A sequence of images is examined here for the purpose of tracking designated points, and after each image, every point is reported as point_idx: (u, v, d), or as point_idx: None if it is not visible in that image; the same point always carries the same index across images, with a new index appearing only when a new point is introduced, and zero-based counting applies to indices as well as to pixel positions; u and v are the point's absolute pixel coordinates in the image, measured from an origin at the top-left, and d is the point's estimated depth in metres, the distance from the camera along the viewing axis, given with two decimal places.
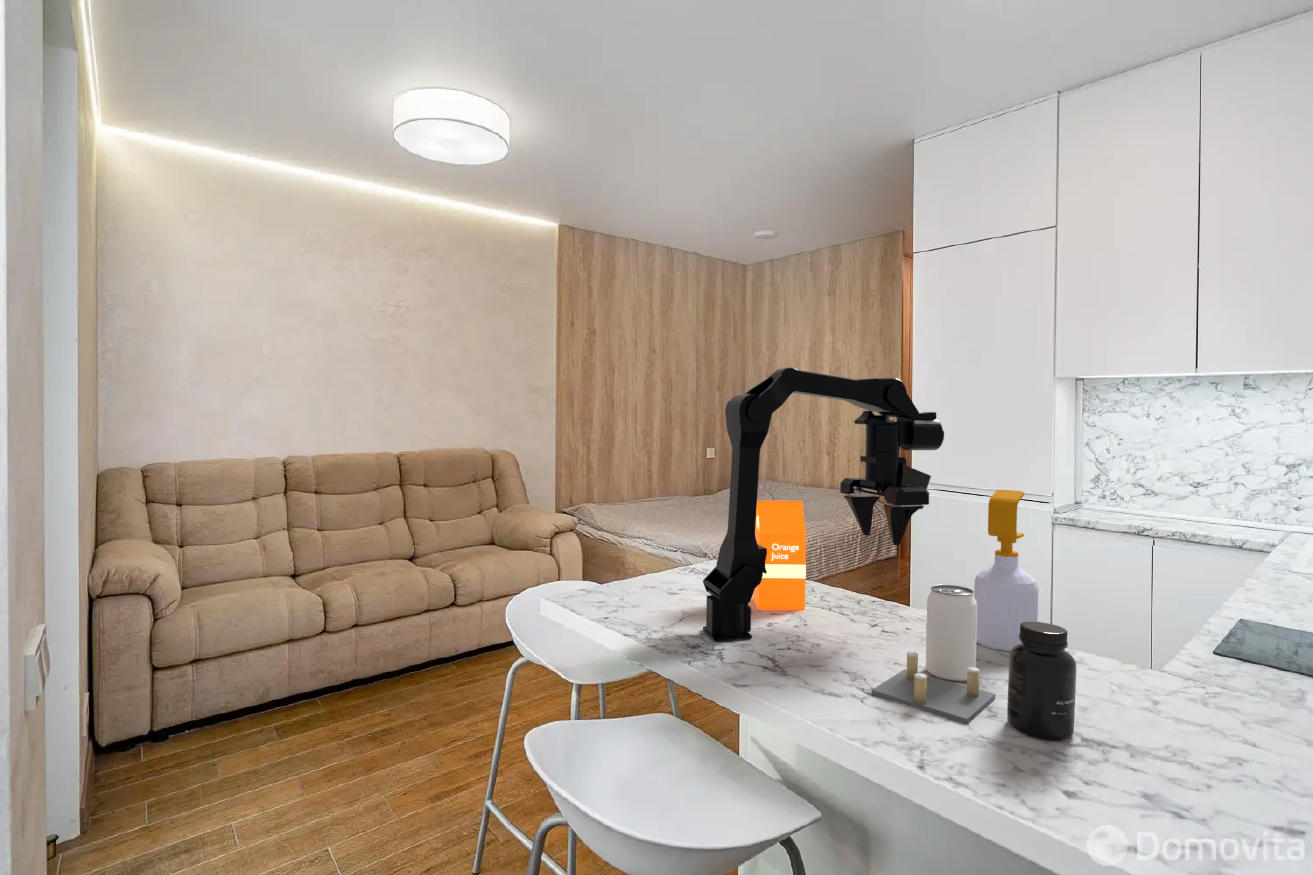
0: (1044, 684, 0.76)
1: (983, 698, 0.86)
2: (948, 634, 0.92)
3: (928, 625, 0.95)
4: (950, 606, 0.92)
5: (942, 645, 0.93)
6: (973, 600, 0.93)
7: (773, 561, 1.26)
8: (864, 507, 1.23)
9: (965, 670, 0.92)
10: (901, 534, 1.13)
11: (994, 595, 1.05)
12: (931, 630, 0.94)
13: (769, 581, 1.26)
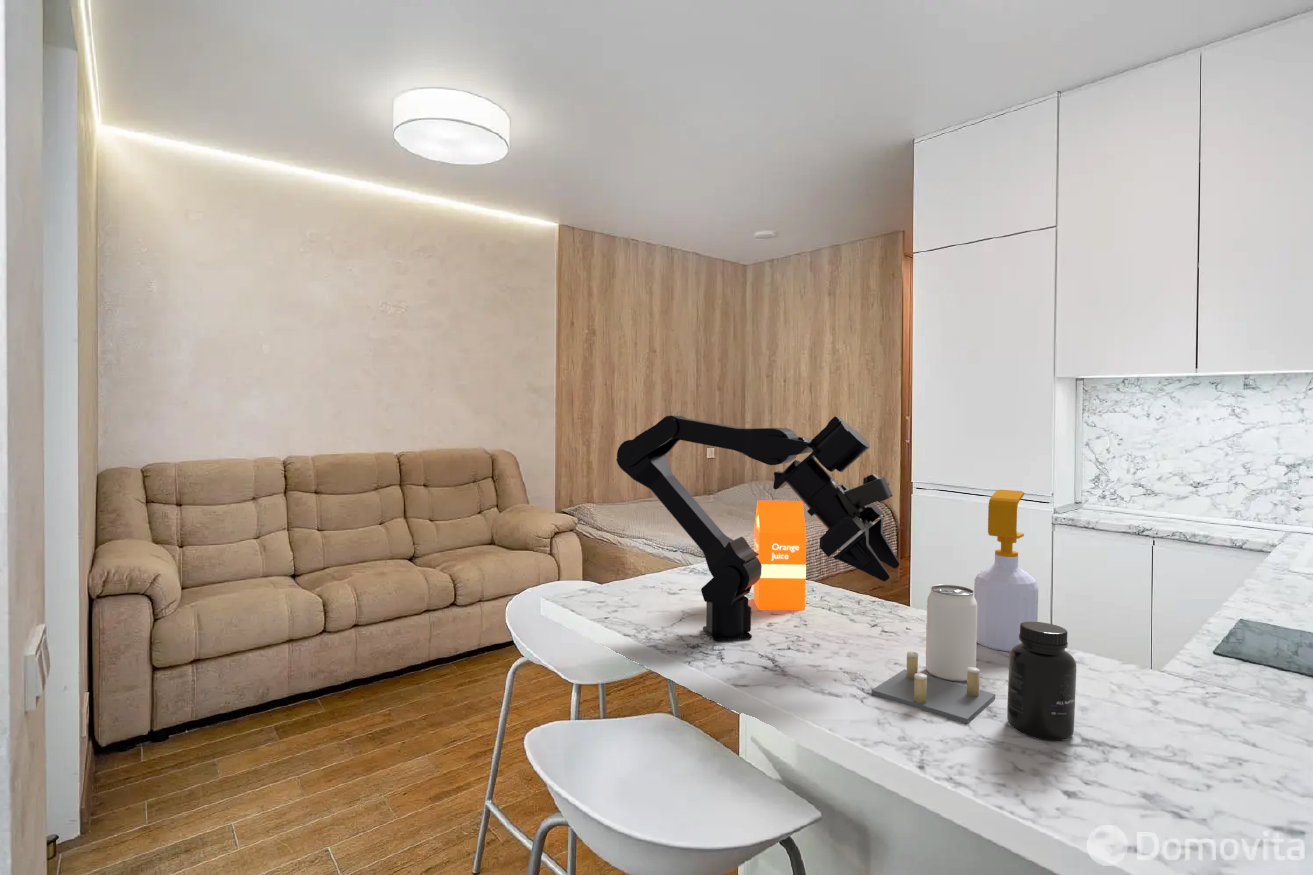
0: (1044, 684, 0.76)
1: (983, 698, 0.86)
2: (948, 634, 0.92)
3: (928, 625, 0.95)
4: (950, 606, 0.92)
5: (942, 645, 0.93)
6: (973, 600, 0.93)
7: (773, 561, 1.26)
8: (872, 542, 1.05)
9: (965, 670, 0.92)
10: (879, 568, 0.95)
11: (994, 595, 1.05)
12: (931, 630, 0.94)
13: (769, 581, 1.26)
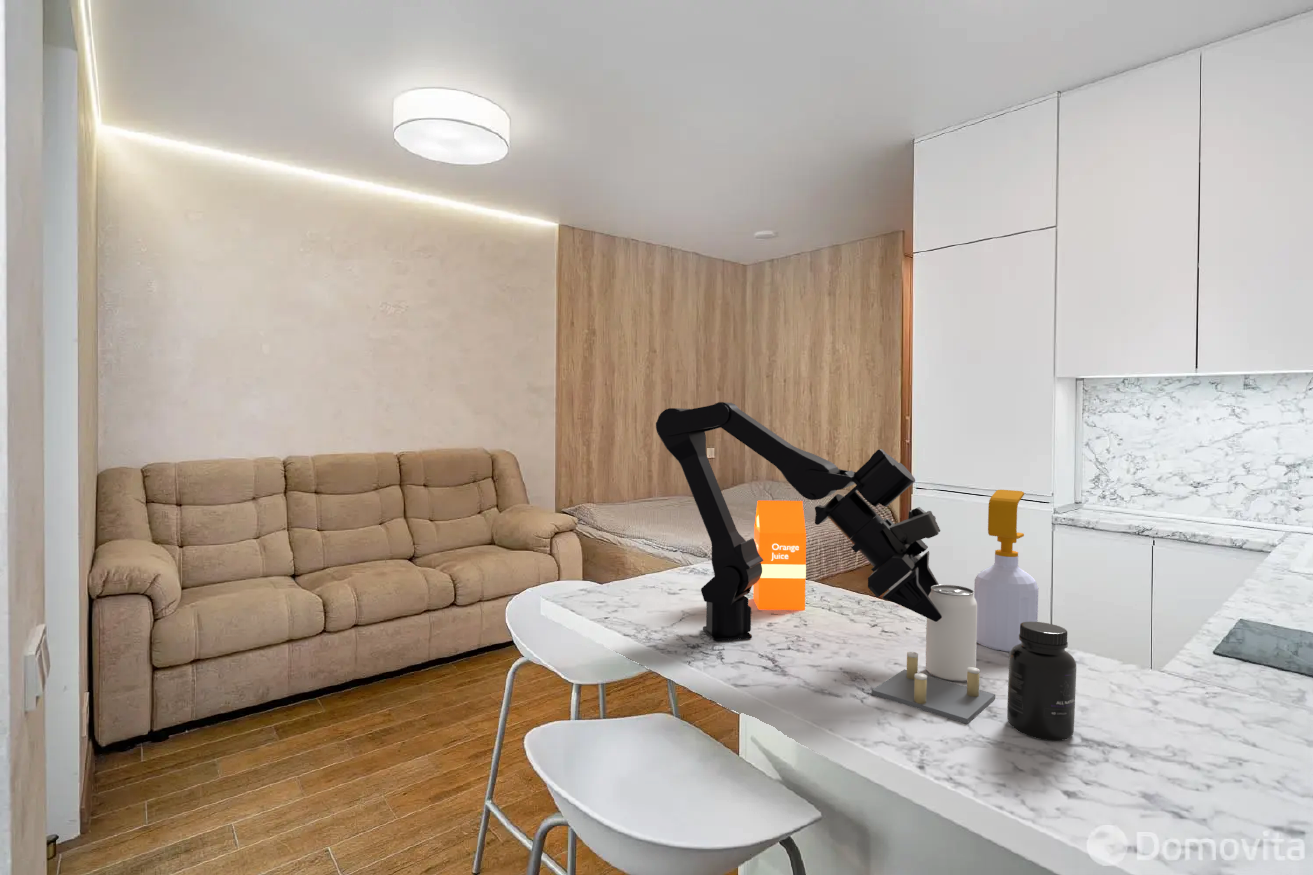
0: (1044, 684, 0.76)
1: (983, 698, 0.86)
2: (948, 634, 0.92)
3: (928, 625, 0.95)
4: (950, 606, 0.92)
5: (942, 645, 0.93)
6: (973, 600, 0.93)
7: (773, 561, 1.26)
8: (919, 577, 1.02)
9: (965, 670, 0.92)
10: (930, 608, 0.92)
11: (994, 595, 1.05)
12: (931, 630, 0.94)
13: (769, 581, 1.26)
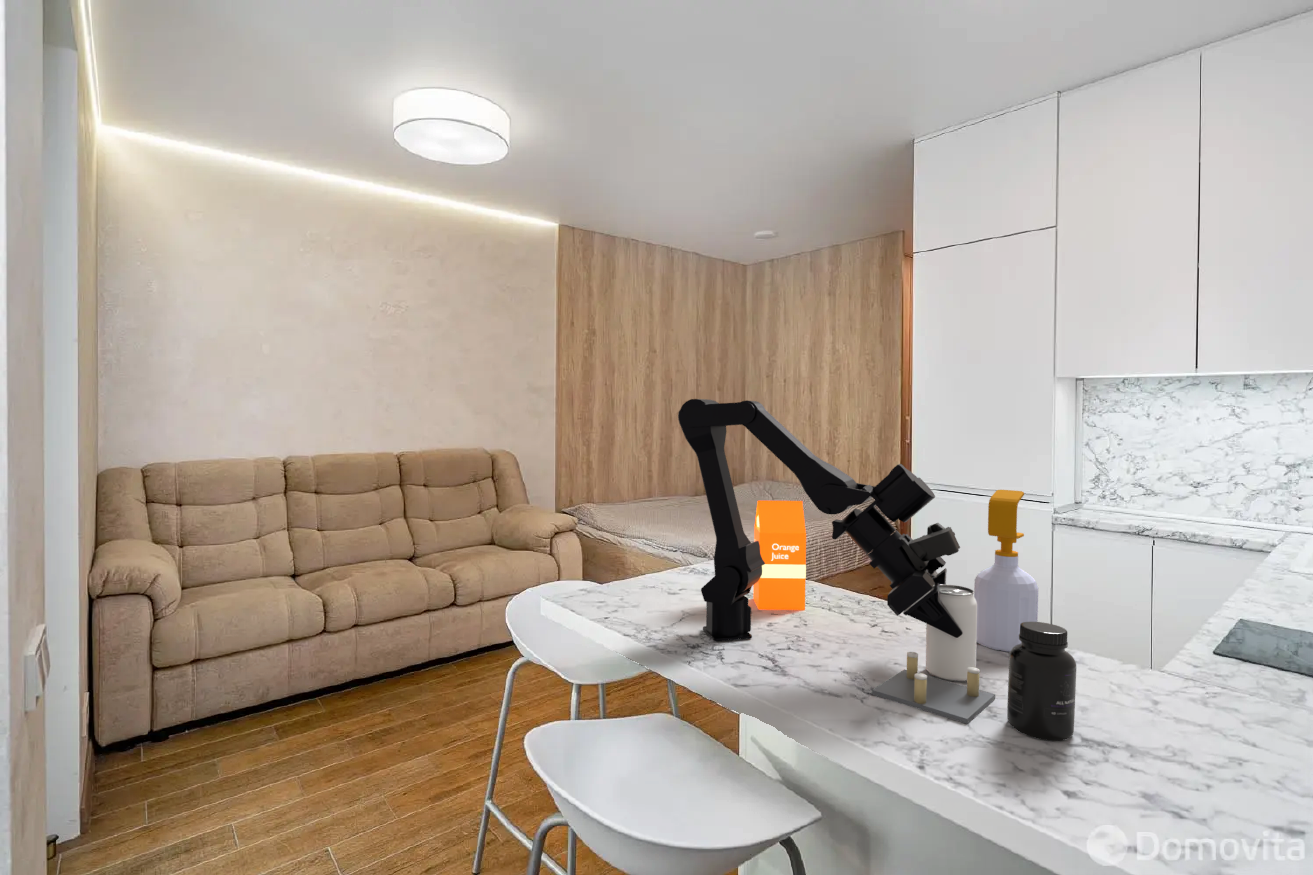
0: (1044, 684, 0.76)
1: (983, 698, 0.86)
2: (948, 634, 0.92)
3: (928, 625, 0.95)
4: (950, 606, 0.92)
5: (942, 645, 0.93)
6: (973, 600, 0.93)
7: (773, 561, 1.26)
8: None
9: (965, 670, 0.92)
10: (951, 624, 0.91)
11: (994, 595, 1.05)
12: (931, 630, 0.94)
13: (769, 581, 1.26)
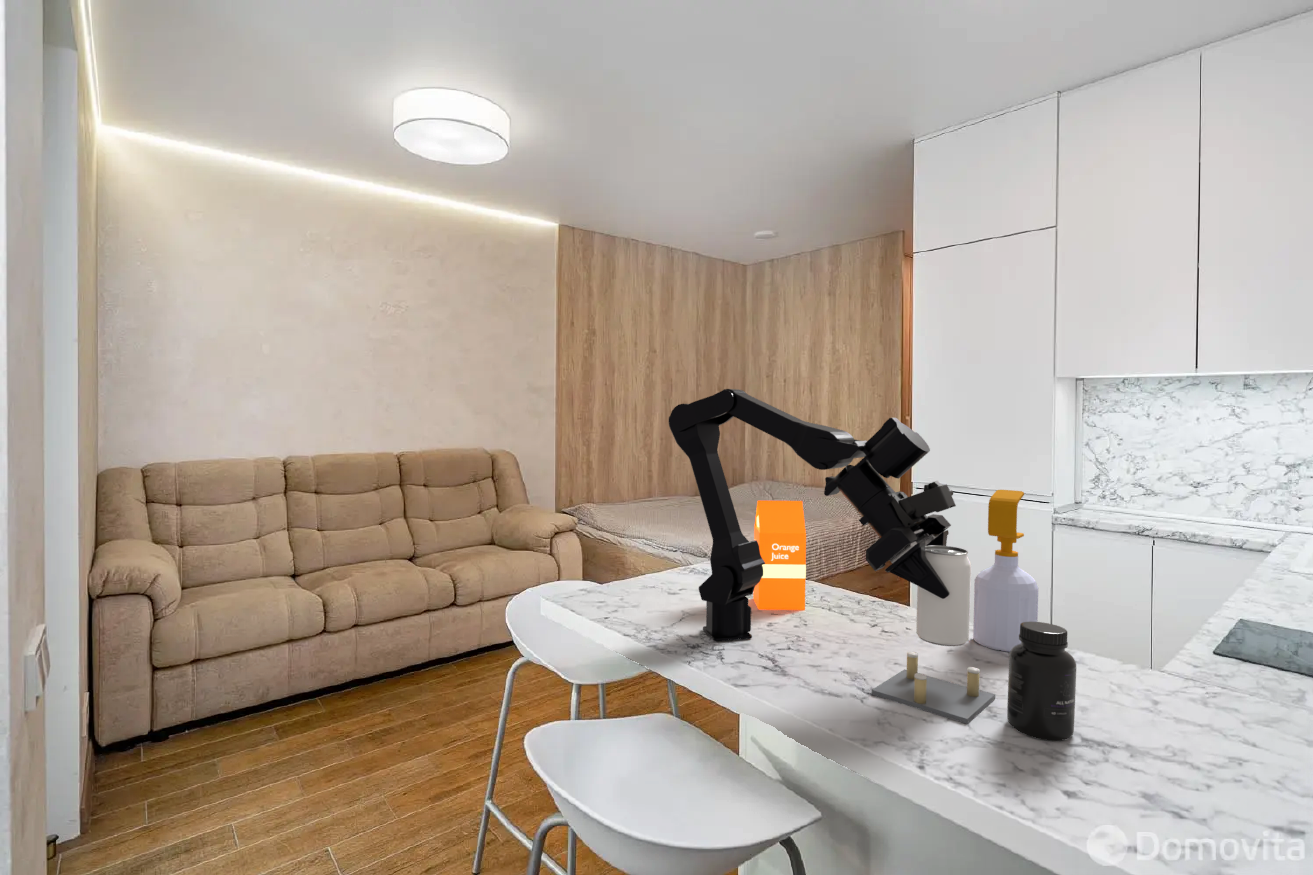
0: (1044, 684, 0.76)
1: (983, 698, 0.86)
2: (935, 595, 0.88)
3: (918, 586, 0.91)
4: (937, 565, 0.87)
5: (929, 606, 0.88)
6: (965, 561, 0.87)
7: (773, 561, 1.26)
8: None
9: (953, 634, 0.87)
10: (937, 583, 0.86)
11: (994, 595, 1.05)
12: (920, 591, 0.90)
13: (769, 581, 1.26)
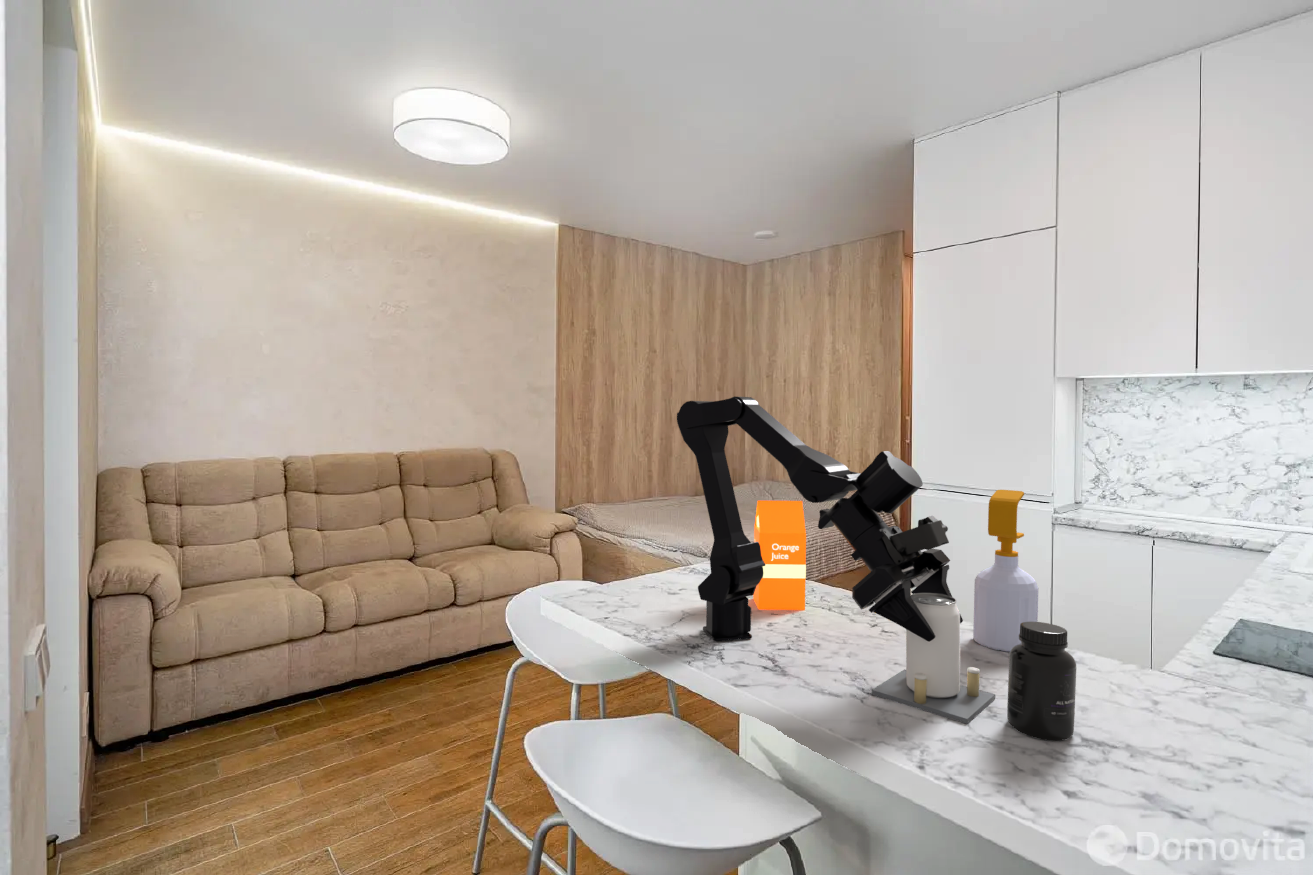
0: (1044, 684, 0.76)
1: (983, 698, 0.86)
2: (921, 645, 0.86)
3: (906, 635, 0.89)
4: (923, 615, 0.86)
5: (916, 657, 0.86)
6: (952, 611, 0.85)
7: (773, 561, 1.26)
8: (932, 592, 0.93)
9: (941, 686, 0.85)
10: (922, 626, 0.84)
11: (994, 595, 1.05)
12: (907, 641, 0.88)
13: (769, 581, 1.26)
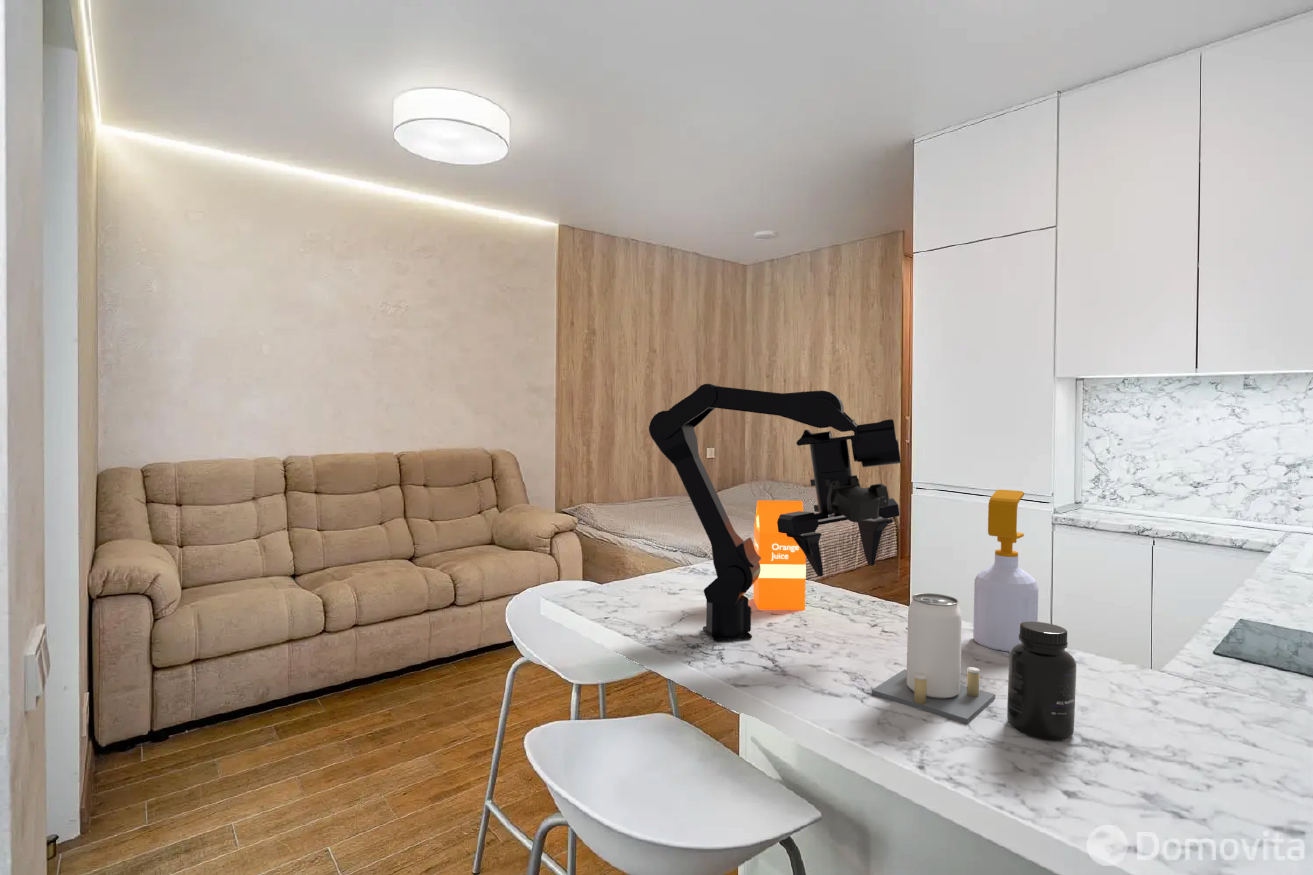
0: (1044, 684, 0.76)
1: (983, 698, 0.86)
2: (923, 646, 0.86)
3: None
4: (925, 615, 0.86)
5: (917, 657, 0.86)
6: (954, 611, 0.85)
7: (773, 561, 1.26)
8: (866, 533, 1.07)
9: (942, 687, 0.85)
10: (815, 565, 1.03)
11: (994, 595, 1.05)
12: (908, 641, 0.88)
13: (769, 581, 1.26)
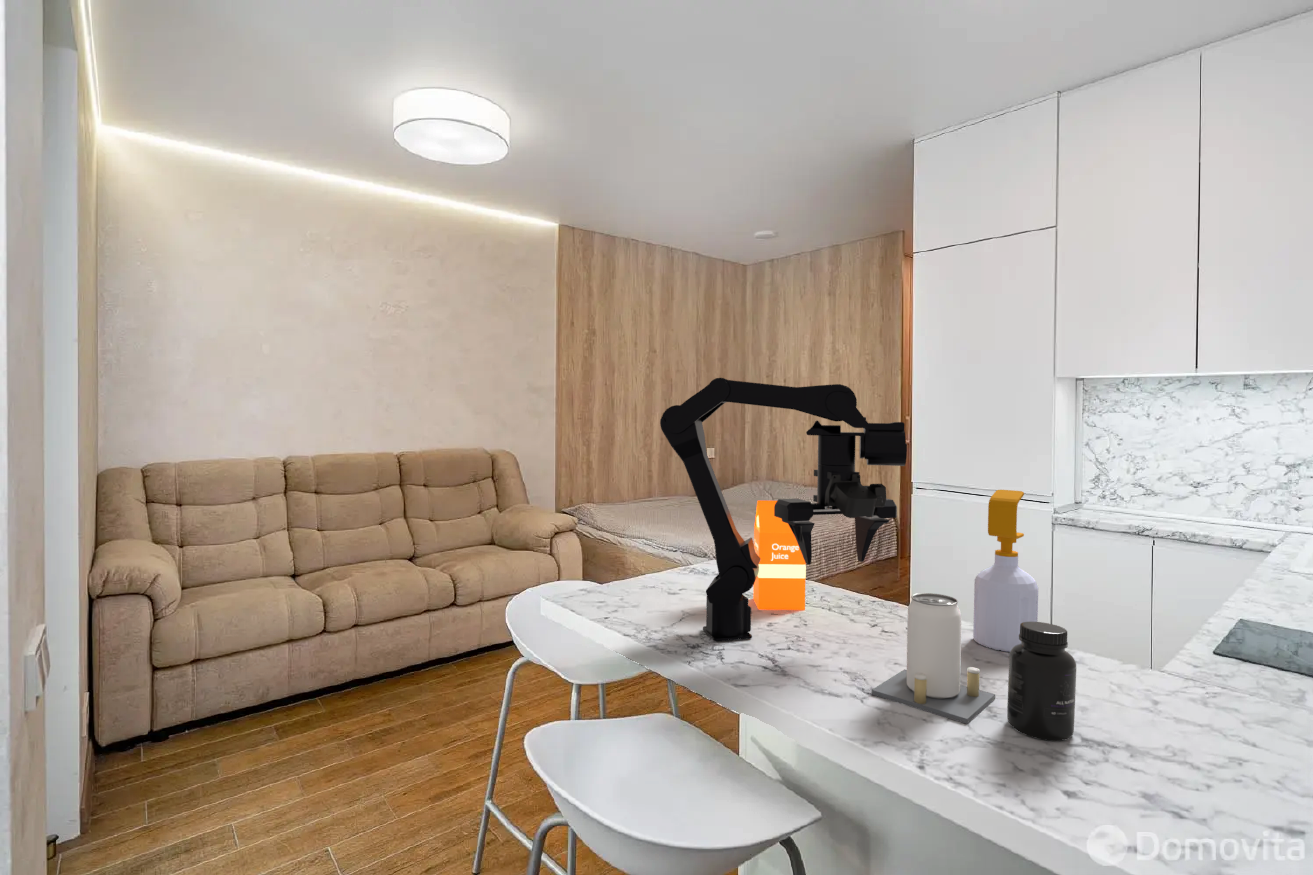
0: (1044, 684, 0.76)
1: (983, 698, 0.86)
2: (923, 646, 0.86)
3: (907, 635, 0.89)
4: (924, 616, 0.86)
5: (916, 657, 0.86)
6: (953, 611, 0.85)
7: (772, 561, 1.26)
8: (861, 529, 1.09)
9: (942, 687, 0.85)
10: (805, 552, 1.05)
11: (994, 595, 1.05)
12: (908, 641, 0.88)
13: (769, 581, 1.26)
